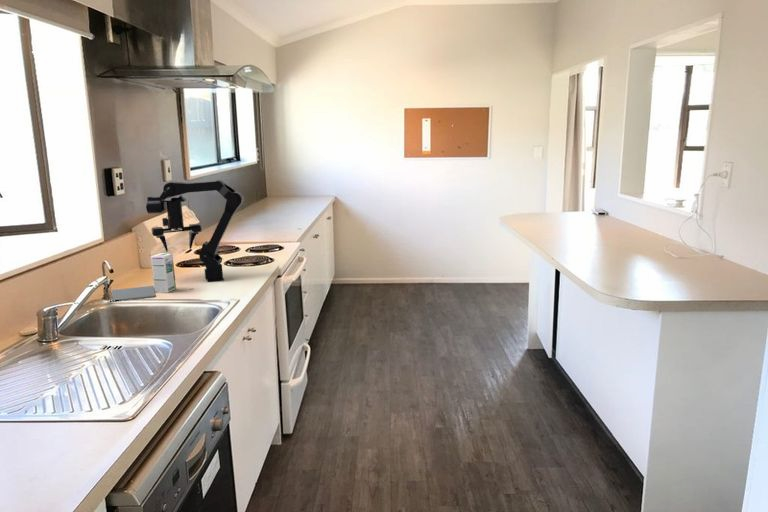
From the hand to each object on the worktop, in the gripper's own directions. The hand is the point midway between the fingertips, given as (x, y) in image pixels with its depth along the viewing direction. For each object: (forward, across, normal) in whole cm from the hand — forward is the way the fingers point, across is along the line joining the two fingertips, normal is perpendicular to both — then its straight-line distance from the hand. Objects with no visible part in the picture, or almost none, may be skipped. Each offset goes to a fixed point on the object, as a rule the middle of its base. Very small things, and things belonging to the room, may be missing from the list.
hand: (178, 250), depth 229 cm
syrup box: (+13, +8, +14) cm, 21 cm away
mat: (+13, +20, +13) cm, 27 cm away
